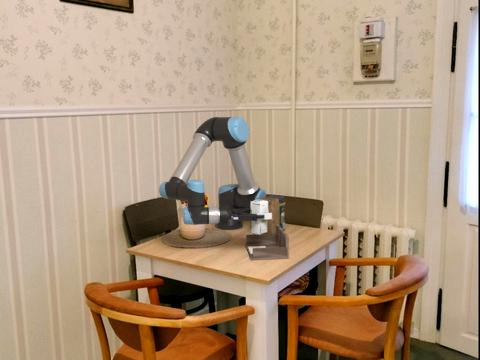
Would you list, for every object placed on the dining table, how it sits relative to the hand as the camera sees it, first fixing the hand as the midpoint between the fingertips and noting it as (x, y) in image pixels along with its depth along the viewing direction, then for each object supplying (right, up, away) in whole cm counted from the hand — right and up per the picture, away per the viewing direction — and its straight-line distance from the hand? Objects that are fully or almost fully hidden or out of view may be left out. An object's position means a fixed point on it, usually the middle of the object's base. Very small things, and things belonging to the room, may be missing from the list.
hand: (269, 213), depth 198 cm
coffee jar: (+6, -12, +40) cm, 42 cm away
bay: (-2, -17, +2) cm, 17 cm away
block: (+1, -14, +26) cm, 29 cm away
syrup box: (-5, -9, +1) cm, 10 cm away
